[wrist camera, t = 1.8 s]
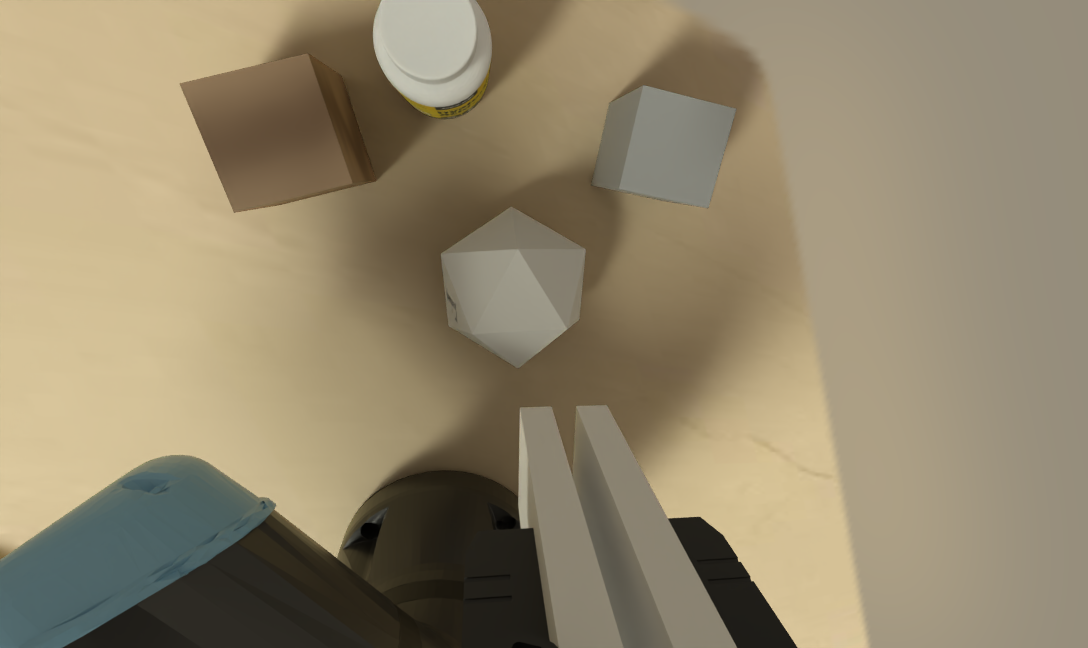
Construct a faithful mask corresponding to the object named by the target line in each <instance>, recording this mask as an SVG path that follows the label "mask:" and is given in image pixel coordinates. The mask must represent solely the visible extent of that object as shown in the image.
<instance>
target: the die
mask: <svg viewBox="0 0 1088 648" xmlns="http://www.w3.org/2000/svg"><path fill="white" fill-rule="evenodd" d="M585 254H586V249H585V248H583V247H581V246H580V245H578V244H576V243H574V242H573V241H571V240H569V239H567V238H566V237H564V236H562V235H560V234H559V233H557V232H555V231H553V230H552V229H550V228H548V227H546V226H545V225H543V224H541V223H539V222H538V221H536V220H534V219H532V218H531V217H529V216H527V215H525V214H524V213H522V212H520V211H518V210H517V209H515V208H513V207H510V208H508V209H507V210H505V211H504V212H502V213H501V214H499V215H498V216H496V217H495V218H493V219H492V220H490V221H489V222H487V223H486V224H484V225H483V226H481V227H480V228H478V229H477V230H475V231H474V232H472V233H471V234H469V235H468V236H466V237H465V238H463V239H462V240H460V241H459V242H457V243H456V244H454V245H453V246H452V247H450V248H449V249H447V250H446V251H444V252H443V253H441V261H442V271H443V280H444V289H445V299H446V308H447V317H448V326H449V327H451V328H453V329H454V330H456V331H458V332H459V333H461V334H462V335H464V336H466V337H467V338H469V339H471V340H472V341H474V342H475V343H477V344H479V345H480V346H482V347H484V348H485V349H487V350H489V351H490V352H492V353H493V354H495V355H497V356H498V357H500V358H502V359H503V360H505V361H506V362H508V363H510V364H511V365H513V366H515V367H516V368H520V367H521V366H522V365H523V364H525V363H526V362H527V361H528V360H530V359H531V358H532V357H533V356H535V355H536V354H537V353H538V352H540V351H541V350H542V349H543V348H545V347H546V346H547V345H548V344H550V343H551V342H552V341H553V340H555V339H556V338H557V337H558V336H560V335H561V334H562V333H563V332H565V331H566V330H567V329H568V328H570V327H571V326H572V325H573V324H575V323H576V322H577V321H578V320H579V319H580V308H581V297H582V287H583V276H584V265H585Z"/></svg>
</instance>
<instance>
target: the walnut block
mask: <svg viewBox="0 0 1088 648" xmlns="http://www.w3.org/2000/svg"><path fill="white" fill-rule="evenodd" d="M180 86H181V88H182V91H183V93H184V95H185V98H186V100H187V102H188V105H189V107H190V109H191V112H192V114H193V117H194V119H195V121H196V124H197V126H198V128H199V131H200V133H201V135H202V138H203V140H204V143H205V145H206V147H207V150H208V152H209V154H210V157H211V159H212V161H213V164H214V166H215V168H216V171H217V173H218V176H219V178H220V180H221V183H222V185H223V187H224V190H225V192H226V194H227V197H228V199H229V202H230V204H231V206H232V209H233V211H234V213H235V212H241V211H247V210H253V209H259V208H265V207H271V206H277V205H282V204H286V203H290V202H294V201H298V200H302V199H306V198H310V197H314V196H318V195H322V194H326V193H330V192H334V191H338V190H342V189H346V188H350V187H354V186H358V185H362V184H366V183H370V182H374V181H376V179H375V176H374V173H373V170H372V167H371V164H370V161H369V158H368V154H367V151H366V148H365V145H364V142H363V139H362V136H361V133H360V130H359V127H358V124H357V121H356V118H355V115H354V112H353V109H352V106H351V103H350V100H349V97H348V94H347V91H346V88H345V85H344V82H343V79H342V76H341V75H339V74H338V73H336V72H335V71H334V70H332V69H331V68H329V67H328V66H326V65H325V64H323V63H322V62H320V61H319V60H317V59H316V58H314V57H313V56H311V55H310V54H308V53H307V54H302V55H298V56H294V57H290V58H285V59H281V60H277V61H273V62H269V63H264V64H260V65H256V66H252V67H248V68H243V69H239V70H235V71H231V72H227V73H222V74H218V75H214V76H210V77H205V78H201V79H197V80H193V81H189V82H184V83H180Z"/></svg>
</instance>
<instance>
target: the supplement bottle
mask: <svg viewBox="0 0 1088 648" xmlns="http://www.w3.org/2000/svg"><path fill="white" fill-rule="evenodd" d="M373 43H374V49H375V53H376V57H377V60H378V62H379V64H380V66H381V69H382V71H383V72H384V74H385V76H386V77H387V79H388V80H389V81H390V83H391V84H392V85H393V86H394V87H395V88H396V89H397V91H398V92H399V93H400V94H401V95H402V96H403V97H404V98H405V99H406V100H407V101H408V102H409V103H410V104H411V105H412V106H413V107H415V108H416V109H417V110H419V111H420V112H422V113H423V114H425V115H428V116H430V117H434V118H438V119H452V118H457V117H460V116H462V115H464V114H466V113H468V112H469V111H470V110H472V109H473V108H474V107H475V106H476V105H477V104H478V102H479V101H480V100H481V98H482V96H483V94H484V92H485V90H486V87H487V83H488V78H489V72H490V65H491V59H492V39H491V33H490V28H489V24H488V22H487V19H486V17H485V14H484V13H483V11H482V9H481V7H480V6H479V4H478V3H477V2H476V0H381V2H380V5H379V8H378V10H377V13H376V16H375V20H374V25H373Z"/></svg>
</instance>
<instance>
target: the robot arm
mask: <svg viewBox="0 0 1088 648" xmlns="http://www.w3.org/2000/svg"><path fill="white" fill-rule="evenodd" d="M275 507H276V504H275V503H274V502H273V501H271V500H270V499H269V498H263V497H257V496H256V495H254V494H253V493H251V492H250V491H249V490H247V489H246V488H244V487H243V486H241V485H240V484H238V483H237V482H235V481H234V480H233V479H231V478H230V477H228V476H227V475H225V474H224V473H222V472H221V471H220V470H218V469H217V468H215V467H214V466H212V465H211V464H209V463H208V462H206V461H204V460H202V459H199V458H196V457H192V456H186V455H171V456H165V457H160V458H156V459H153V460H150V461H148V462H146V463H144V464H142V465H140V466H138V467H137V468H135V469H133V470H132V471H130V472H128V473H127V474H125V475H124V476H122V477H121V478H119V479H118V480H116V481H115V482H113V483H112V484H110V485H109V486H107V487H106V488H104V489H103V490H101V491H100V492H98V493H97V494H95V495H94V496H92V497H91V498H90V499H88V500H87V501H85V502H84V503H82V504H81V505H79V506H78V507H76V508H75V509H73V510H72V511H70V512H69V513H68V514H66V515H65V516H63V517H62V518H60V519H59V520H57V521H56V522H54V523H53V524H52V525H50V526H49V527H47V528H46V529H44V530H43V531H41V532H40V533H38V534H37V535H35V536H34V537H33V538H31V539H30V540H28V541H27V542H25V543H24V544H22V545H21V546H20V547H18V548H17V549H15V550H14V551H12V552H11V553H9V554H8V555H7V556H5V557H4V558H2V559H1V560H0V648H797V646H796V645H795V643H794V642H793V640H792V639H791V637H790V636H789V634H788V633H787V631H786V630H785V628H784V627H783V625H782V623H781V622H780V620H779V619H778V617H777V616H776V614H775V613H774V611H773V610H772V608H771V607H770V605H769V604H768V602H767V601H766V599H765V598H764V596H763V595H762V593H761V592H760V590H759V589H758V587H757V586H756V584H755V583H754V581H752V582H751V579H750V575H749V574H748V572H747V571H746V569H745V568H744V566H743V565H742V563H741V562H738V557H737V556H736V554H735V553H734V551H733V550H732V548H731V547H730V545H729V544H728V542H727V541H726V539H725V538H724V536H723V535H722V534H721V533H720V532H718V531H717V530H716V529H715V528H713V527H712V526H711V525H709V524H708V523H707V522H706V521H704V520H703V519H702V518H701V517H688V518H670V519H668V518H667V516H666V514H665V512H664V511H663V509H662V507H661V505H660V503H659V501H658V499H657V498H656V496H655V494H654V492H653V490H652V488H651V486H650V485H649V483H648V481H647V479H646V477H645V475H644V473H643V471H642V470H641V468H640V466H639V464H638V462H637V460H636V458H635V457H634V455H633V453H632V451H631V449H630V447H629V445H628V444H627V442H626V440H625V438H624V436H623V434H622V432H621V430H620V429H619V427H618V425H617V423H616V421H615V419H614V417H613V416H612V414H611V412H610V410H609V408H608V406H607V405H591V406H576V416H575V436H574V455H573V475H572V473H571V470H570V467H569V463H568V460H567V456H566V453H565V450H564V446H563V443H562V440H561V436H560V433H559V430H558V426H557V423H556V420H555V416H554V413H553V409H552V407H520V432H519V493H518V497H517V496H516V495H514V494H513V493H512V492H511V491H509V490H508V489H506V488H505V487H503V486H502V485H500V484H498V483H496V482H494V481H492V480H490V479H487V478H484V477H481V476H478V475H474V474H470V473H465V472H457V471H434V472H426V473H421V474H417V475H413V476H409V477H406V478H404V479H401V480H399V481H396V482H394V483H392V484H390V485H388V486H387V487H385V488H383V489H382V490H380V491H379V492H377V493H376V494H375V495H373V496H372V497H371V498H370V499H369V500H368V501H366V502H365V503H364V505H363V506H362V507H361V508H360V509H359V510H358V512H357V513H356V514H355V516H354V517H353V519H352V521H351V523H350V524H349V526H348V529H347V531H346V534H345V536H344V539H343V542H342V545H341V547H340V550H339V553H338V557H337V558H336V557H334V556H333V555H332V554H331V553H329V552H328V551H327V550H325V549H324V548H323V547H322V546H320V545H319V544H318V543H316V542H315V541H314V540H313V539H311V538H310V537H309V536H307V535H306V534H305V533H304V532H302V531H301V530H300V529H298V528H297V527H296V526H295V525H293V524H292V523H291V522H289V521H288V520H287V519H286V518H284V517H283V516H282V515H280V514H279V513H278V512H277V511H275V510H274V509H275Z"/></svg>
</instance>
